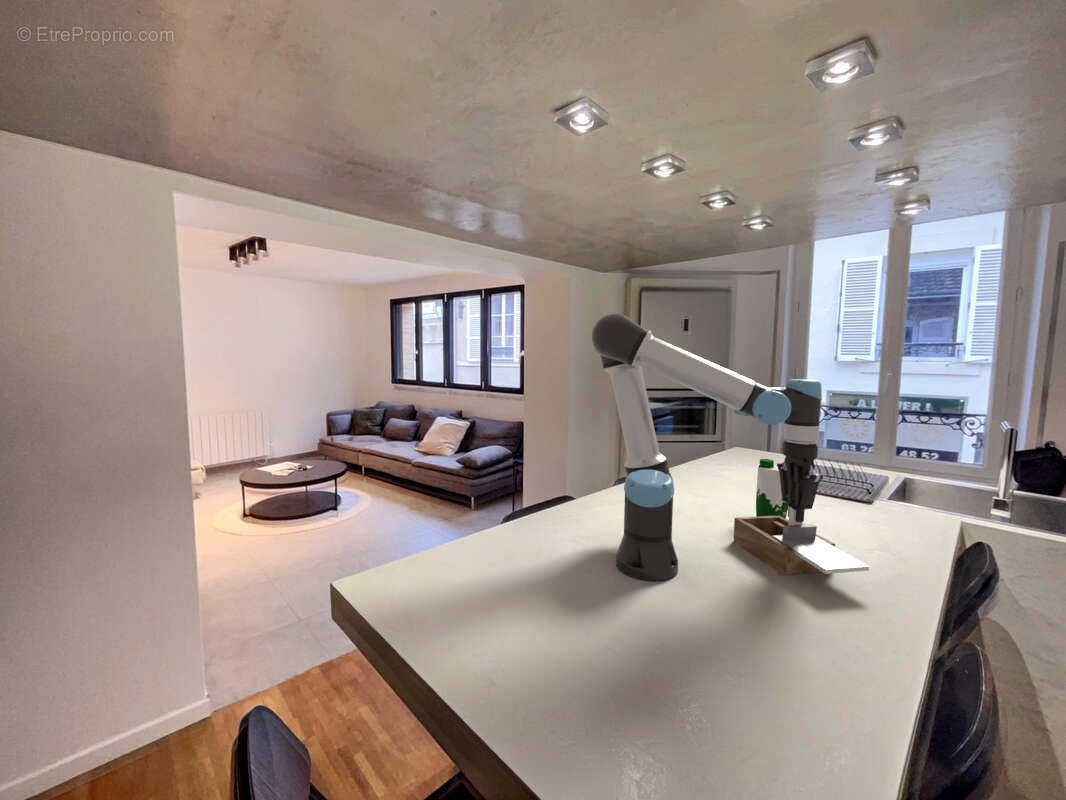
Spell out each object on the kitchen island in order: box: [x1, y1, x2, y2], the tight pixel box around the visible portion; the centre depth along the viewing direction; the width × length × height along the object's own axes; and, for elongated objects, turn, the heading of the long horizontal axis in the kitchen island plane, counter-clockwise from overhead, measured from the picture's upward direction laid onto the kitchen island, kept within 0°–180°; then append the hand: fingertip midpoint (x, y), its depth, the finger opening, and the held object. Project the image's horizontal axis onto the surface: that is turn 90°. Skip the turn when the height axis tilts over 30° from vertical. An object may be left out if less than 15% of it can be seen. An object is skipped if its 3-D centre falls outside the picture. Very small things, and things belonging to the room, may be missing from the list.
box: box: [733, 516, 836, 576], centre depth 118 cm, size 14×20×7 cm
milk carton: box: [755, 458, 788, 519], centre depth 142 cm, size 9×9×20 cm
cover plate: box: [773, 523, 870, 575], centre depth 106 cm, size 11×17×4 cm, turn 9°
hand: (794, 532), depth 113 cm, fingers closed
